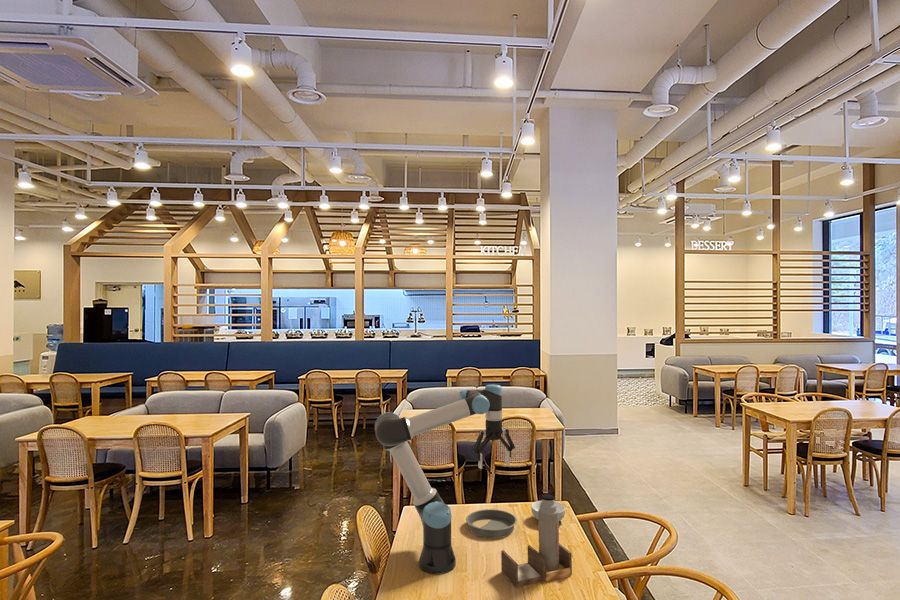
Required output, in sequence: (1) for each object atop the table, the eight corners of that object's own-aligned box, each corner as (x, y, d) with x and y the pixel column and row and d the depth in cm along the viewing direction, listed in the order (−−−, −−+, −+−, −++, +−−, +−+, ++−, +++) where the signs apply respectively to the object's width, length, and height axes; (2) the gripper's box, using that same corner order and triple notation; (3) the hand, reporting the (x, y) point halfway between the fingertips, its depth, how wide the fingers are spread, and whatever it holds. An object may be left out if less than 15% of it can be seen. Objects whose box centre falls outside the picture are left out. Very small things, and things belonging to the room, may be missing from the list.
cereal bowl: (527, 514, 255) (527, 500, 255) (558, 512, 257) (558, 499, 257) (537, 528, 238) (536, 513, 238) (570, 526, 240) (570, 512, 240)
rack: (516, 588, 186) (516, 565, 187) (501, 572, 198) (501, 550, 198) (572, 575, 195) (572, 553, 195) (555, 560, 207) (554, 540, 207)
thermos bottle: (561, 564, 200) (561, 494, 201) (555, 573, 194) (554, 501, 194) (543, 559, 205) (542, 491, 205) (535, 567, 198) (535, 497, 199)
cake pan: (516, 518, 250) (516, 509, 251) (517, 540, 226) (517, 530, 226) (467, 516, 253) (467, 507, 253) (464, 538, 229) (464, 528, 229)
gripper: (514, 415, 232) (514, 461, 231) (465, 419, 223) (465, 467, 223) (522, 418, 225) (522, 465, 224) (471, 423, 216) (471, 472, 216)
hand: (494, 466), depth 224 cm, fingers open, 13 cm apart
